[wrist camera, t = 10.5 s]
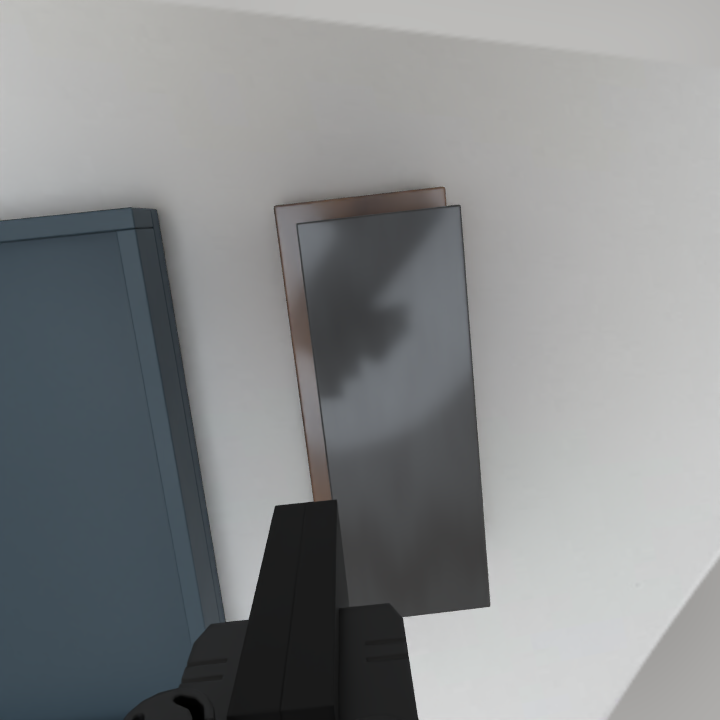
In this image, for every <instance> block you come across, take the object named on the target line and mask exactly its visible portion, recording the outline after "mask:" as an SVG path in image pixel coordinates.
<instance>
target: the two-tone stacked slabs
mask: <svg viewBox="0 0 720 720" xmlns="http://www.w3.org/2000/svg"><path fill="white" fill-rule="evenodd" d="M274 214H275V221H276V228H277V236H278V243H279V250H280V258H281V265H282V272H283V279H284V287H285V294H286V301H287V309H288V316H289V323H290V331H291V338H292V345H293V353H294V360H295V367H296V375H297V382H298V389H299V397H300V404H301V411H302V419H303V426H304V433H305V441H306V448H307V455H308V463H309V470H310V477H311V485H312V492H313V499H314V502H316V501H326V500H335V499H337V503H338V512H339V520H340V529H341V537H342V546H343V554H344V563H345V571H346V580H347V588H348V597H349V607H356V606H365V605H374V604H384V603H390V604H391V605H392V606H393V607H394V608H395V610H396V611H397V612H398V613H399V614H400V615H401V617H408V616H416V615H425V614H433V613H442V612H450V611H458V610H467V609H475V608H483V607H490V594H489V580H488V567H487V553H486V540H485V526H484V513H483V499H482V486H481V472H480V459H479V445H478V432H477V418H476V405H475V391H474V378H473V364H472V351H471V338H470V324H469V311H468V297H467V284H466V270H465V257H464V243H463V230H462V216H461V206H460V205H451V206H447V205H446V192H445V187H435V188H426V189H417V190H409V191H400V192H391V193H382V194H373V195H364V196H356V197H347V198H338V199H329V200H320V201H311V202H303V203H294V204H285V205H276V206H274Z"/></svg>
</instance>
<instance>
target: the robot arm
mask: <svg viewBox="0 0 720 720" xmlns="http://www.w3.org/2000/svg"><path fill="white" fill-rule="evenodd" d="M124 720H419V719H418V715H417V709H416V702H415V695H414V689H413V682H412V676H411V669H410V662H409V657H408V649H407V643H406V636H405V629H404V623H403V618H402V617H401V615H400V614H399V613H398V612H397V611H396V610H395V608H394V607H393V606H392V605H391V604H390V603H384V604H374V605H365V606H356V607H349V597H348V588H347V580H346V571H345V563H344V554H343V546H342V537H341V529H340V520H339V512H338V503H337V499H335V500H326V501H316V502H307V503H297V504H288V505H278V506H275V509H274V513H273V517H272V522H271V526H270V530H269V535H268V539H267V543H266V548H265V552H264V556H263V561H262V565H261V569H260V574H259V578H258V582H257V586H256V591H255V595H254V599H253V604H252V608H251V612H250V617H249V620H242V621H233V622H223V623H214V624H210V625H209V626H208V627H207V629H206V630H205V631H204V632H203V633H202V634H201V635H200V636H199V638H198V639H197V640H196V641H195V642H194V644H193V647H192V650H191V653H190V656H189V659H188V662H187V667H185V670H184V673H183V676H182V679H181V684H180V685H179V687H178V688H175V689H171V690H167V691H163V692H159V693H157V694H155V695H153V696H151V697H149V698H147V699H146V700H144V701H142V702H141V703H139V704H138V705H137V706H136V707H135V708H134V709H132V710H131V711H130V712H129V713H128V714H127V715H126V717H125V718H124Z"/></svg>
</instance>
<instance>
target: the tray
mask: <svg viewBox="0 0 720 720" xmlns="http://www.w3.org/2000/svg"><path fill="white" fill-rule="evenodd" d="M223 622H225V616H224V610H223V604H222V598H221V592H220V586H219V580H218V574H217V568H216V562H215V556H214V550H213V544H212V538H211V532H210V526H209V520H208V514H207V508H206V502H205V496H204V490H203V484H202V478H201V472H200V466H199V460H198V454H197V448H196V442H195V436H194V430H193V424H192V418H191V412H190V406H189V400H188V394H187V388H186V382H185V376H184V370H183V364H182V358H181V352H180V346H179V340H178V334H177V328H176V322H175V316H174V310H173V304H172V298H171V292H170V286H169V280H168V274H167V268H166V262H165V256H164V250H163V244H162V238H161V232H160V226H159V220H158V214H157V210H156V209H146V208H132V207H130V208H120V209H110V210H100V211H91V212H81V213H71V214H62V215H52V216H42V217H33V218H23V219H13V220H3V221H0V720H124V718H125V717H126V715H127V714H128V713H129V712H130V711H131V710H132V709H134V708H135V707H136V706H137V705H138V704H139V703H141V702H142V701H144V700H146V699H147V698H149V697H151V696H153V695H155V694H157V693H159V692H163V691H167V690H171V689H175V688H178V687H179V685H180V684H181V679H182V676H183V673H184V670H185V667H187V662H188V659H189V656H190V653H191V650H192V647H193V644H194V642H195V641H196V640H197V639H198V638H199V636H200V635H201V634H202V633H203V632H204V631H205V630H206V629H207V627H208V626H209V625H210V624H214V623H223Z"/></svg>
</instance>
